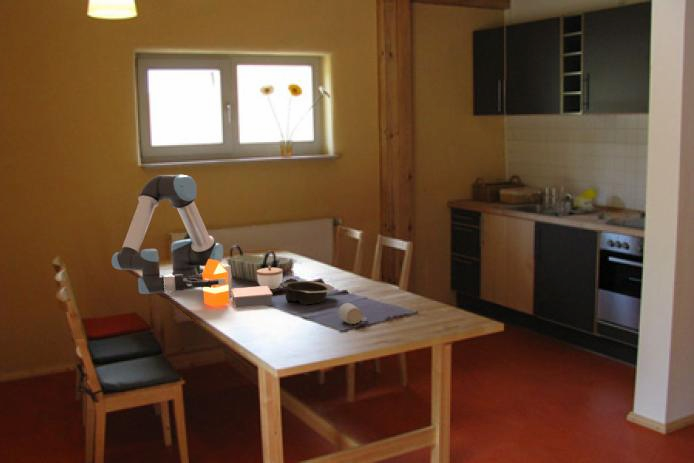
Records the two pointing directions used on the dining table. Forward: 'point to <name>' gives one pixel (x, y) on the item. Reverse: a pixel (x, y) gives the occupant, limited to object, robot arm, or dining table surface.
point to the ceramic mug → (350, 314)
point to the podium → (252, 296)
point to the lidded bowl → (270, 277)
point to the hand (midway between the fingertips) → (224, 278)
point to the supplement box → (228, 269)
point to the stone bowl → (306, 291)
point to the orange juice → (217, 292)
